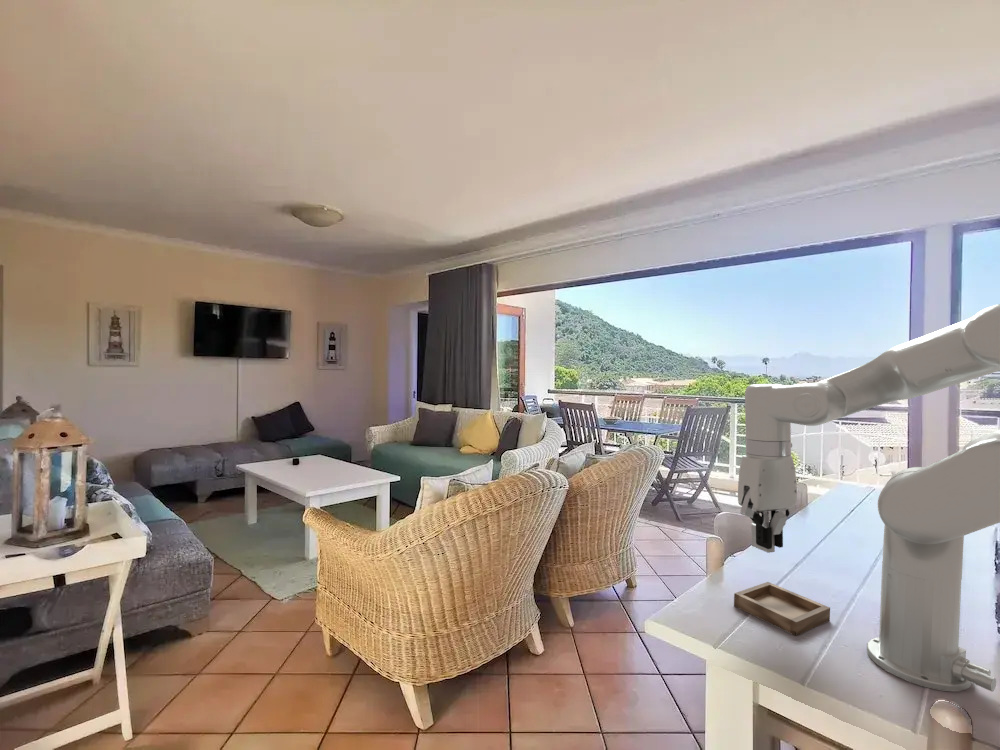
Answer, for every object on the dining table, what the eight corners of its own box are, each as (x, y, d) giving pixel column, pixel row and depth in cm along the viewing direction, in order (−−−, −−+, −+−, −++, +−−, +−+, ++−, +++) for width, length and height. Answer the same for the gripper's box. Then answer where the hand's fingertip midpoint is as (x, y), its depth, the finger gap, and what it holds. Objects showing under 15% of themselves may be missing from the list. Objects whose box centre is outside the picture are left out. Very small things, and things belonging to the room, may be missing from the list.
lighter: (751, 545, 96) (750, 504, 96) (758, 544, 96) (757, 504, 96) (781, 558, 89) (780, 514, 89) (788, 557, 89) (787, 513, 89)
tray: (829, 620, 91) (830, 607, 91) (795, 636, 86) (796, 622, 86) (767, 593, 101) (767, 581, 101) (733, 605, 96) (734, 593, 96)
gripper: (784, 444, 98) (785, 535, 98) (719, 448, 94) (720, 544, 94) (818, 449, 91) (819, 547, 91) (749, 454, 87) (750, 557, 87)
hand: (769, 545), depth 92 cm, fingers closed on lighter, 1 cm apart
